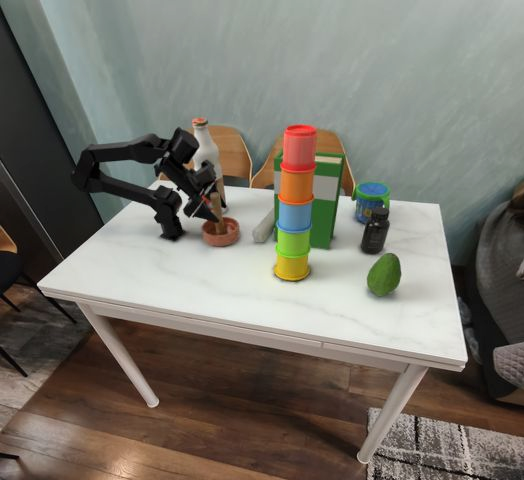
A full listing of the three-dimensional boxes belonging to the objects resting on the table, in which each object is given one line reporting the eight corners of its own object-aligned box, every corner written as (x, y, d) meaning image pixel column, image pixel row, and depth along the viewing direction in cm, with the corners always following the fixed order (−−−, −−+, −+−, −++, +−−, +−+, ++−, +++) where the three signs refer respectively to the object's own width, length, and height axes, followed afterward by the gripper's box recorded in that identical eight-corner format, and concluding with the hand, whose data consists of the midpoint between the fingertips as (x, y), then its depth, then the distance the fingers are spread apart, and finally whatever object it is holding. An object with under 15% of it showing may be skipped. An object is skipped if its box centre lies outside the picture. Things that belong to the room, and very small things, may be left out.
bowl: (196, 241, 101) (193, 230, 98) (217, 224, 107) (215, 213, 104) (226, 251, 97) (225, 239, 93) (246, 232, 103) (245, 221, 100)
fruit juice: (231, 211, 113) (220, 119, 91) (210, 219, 110) (193, 126, 88) (218, 202, 118) (205, 113, 96) (197, 210, 114) (178, 119, 93)
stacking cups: (268, 266, 91) (264, 127, 64) (299, 257, 93) (307, 119, 66) (283, 286, 85) (286, 141, 58) (315, 275, 87) (332, 132, 60)
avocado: (375, 306, 78) (388, 266, 69) (357, 288, 83) (367, 249, 74) (400, 296, 80) (417, 257, 71) (382, 279, 85) (394, 240, 75)
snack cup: (393, 225, 102) (402, 194, 94) (366, 233, 100) (374, 202, 92) (365, 205, 111) (372, 176, 103) (340, 212, 109) (345, 182, 101)
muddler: (216, 240, 100) (209, 198, 89) (213, 233, 102) (206, 192, 92) (229, 237, 100) (223, 196, 90) (226, 231, 103) (220, 190, 93)
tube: (266, 235, 94) (295, 199, 108) (251, 227, 94) (282, 192, 108) (262, 248, 99) (291, 212, 112) (247, 240, 99) (278, 205, 112)
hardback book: (333, 237, 99) (345, 154, 81) (328, 249, 95) (340, 164, 76) (281, 229, 103) (282, 148, 85) (274, 240, 99) (273, 158, 81)
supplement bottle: (386, 247, 94) (398, 209, 85) (375, 257, 91) (386, 219, 82) (367, 240, 97) (376, 202, 88) (355, 249, 94) (363, 211, 85)
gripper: (183, 167, 78) (231, 212, 85) (204, 142, 89) (244, 183, 96) (163, 198, 85) (208, 236, 92) (185, 170, 96) (224, 206, 103)
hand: (222, 214), depth 96 cm, fingers open, 9 cm apart
